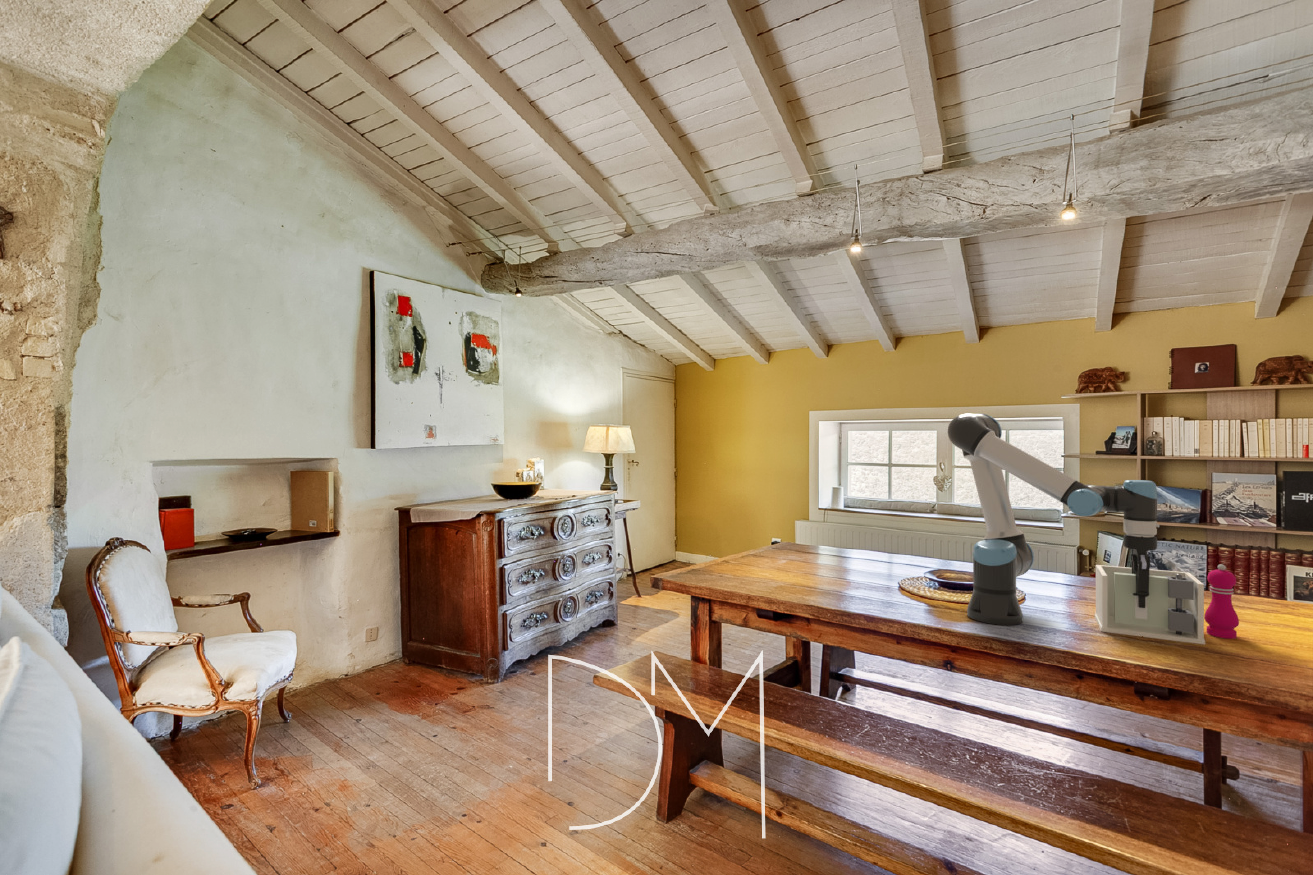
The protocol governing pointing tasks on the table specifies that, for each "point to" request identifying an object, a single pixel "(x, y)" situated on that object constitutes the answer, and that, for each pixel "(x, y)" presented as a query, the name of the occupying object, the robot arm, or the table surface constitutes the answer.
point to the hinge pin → (1178, 602)
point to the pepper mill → (1221, 604)
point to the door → (1154, 602)
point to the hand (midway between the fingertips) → (1140, 616)
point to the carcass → (1107, 624)
